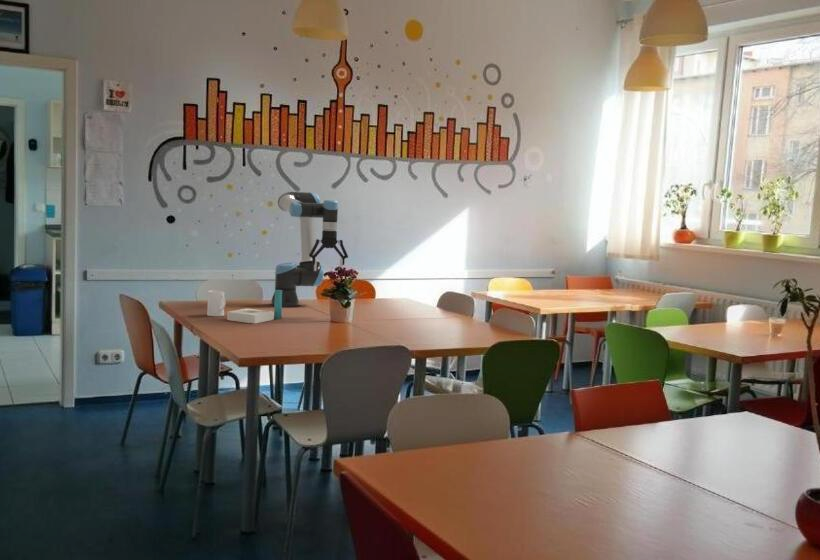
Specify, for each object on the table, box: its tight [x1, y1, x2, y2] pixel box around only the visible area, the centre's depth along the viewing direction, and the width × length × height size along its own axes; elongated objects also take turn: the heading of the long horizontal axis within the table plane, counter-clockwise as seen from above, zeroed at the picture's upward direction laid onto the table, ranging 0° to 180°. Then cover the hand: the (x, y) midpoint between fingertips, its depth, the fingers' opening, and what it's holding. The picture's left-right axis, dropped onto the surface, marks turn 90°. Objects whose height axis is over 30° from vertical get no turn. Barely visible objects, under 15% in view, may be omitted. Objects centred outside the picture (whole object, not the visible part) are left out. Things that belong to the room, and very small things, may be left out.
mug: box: [206, 289, 227, 317], centre depth 403 cm, size 12×8×12 cm
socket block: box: [226, 307, 275, 324], centre depth 395 cm, size 16×16×4 cm
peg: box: [273, 289, 283, 320], centre depth 403 cm, size 4×4×14 cm
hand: (328, 271), depth 421 cm, fingers open, 13 cm apart
